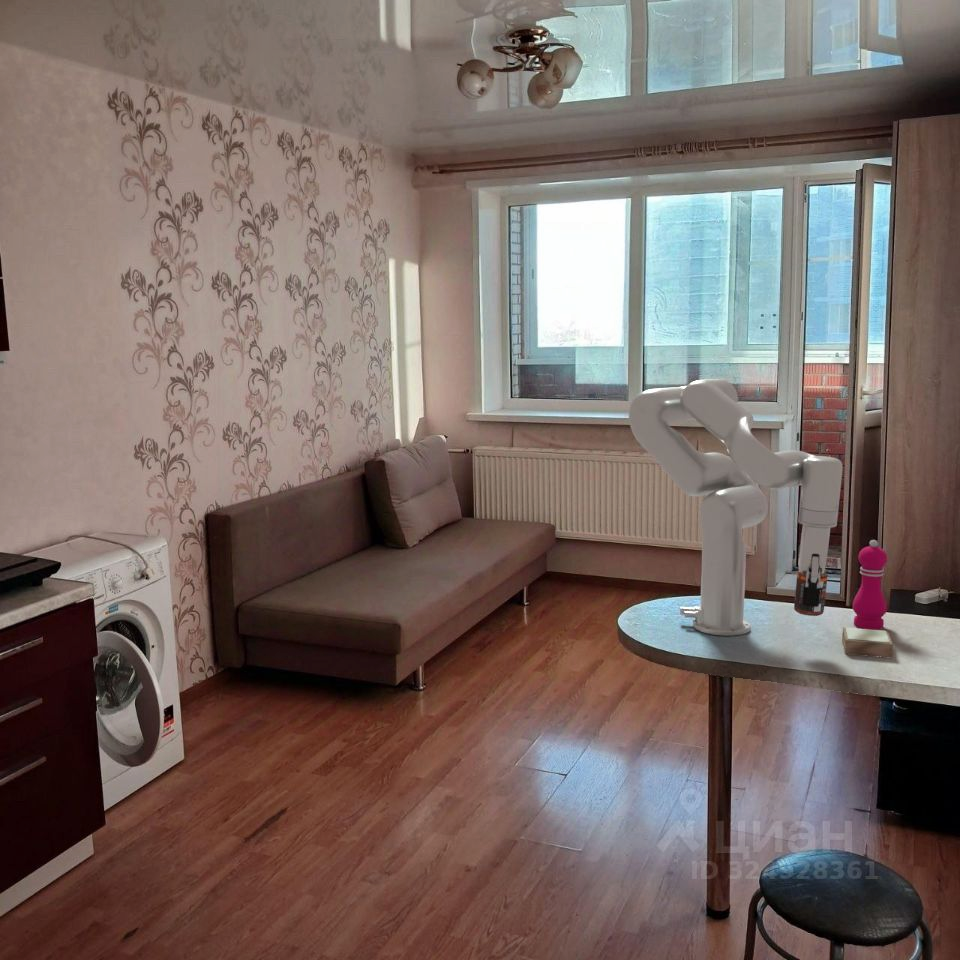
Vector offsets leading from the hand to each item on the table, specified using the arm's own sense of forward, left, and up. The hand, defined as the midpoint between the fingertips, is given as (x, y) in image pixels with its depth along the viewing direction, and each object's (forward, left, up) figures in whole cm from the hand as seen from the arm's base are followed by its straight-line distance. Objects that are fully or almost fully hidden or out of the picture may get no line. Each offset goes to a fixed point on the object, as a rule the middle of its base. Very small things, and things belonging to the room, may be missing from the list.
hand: (809, 600), depth 201 cm
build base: (+12, +4, -11) cm, 17 cm away
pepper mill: (+14, +21, -11) cm, 28 cm away
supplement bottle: (0, 0, -3) cm, 3 cm away
